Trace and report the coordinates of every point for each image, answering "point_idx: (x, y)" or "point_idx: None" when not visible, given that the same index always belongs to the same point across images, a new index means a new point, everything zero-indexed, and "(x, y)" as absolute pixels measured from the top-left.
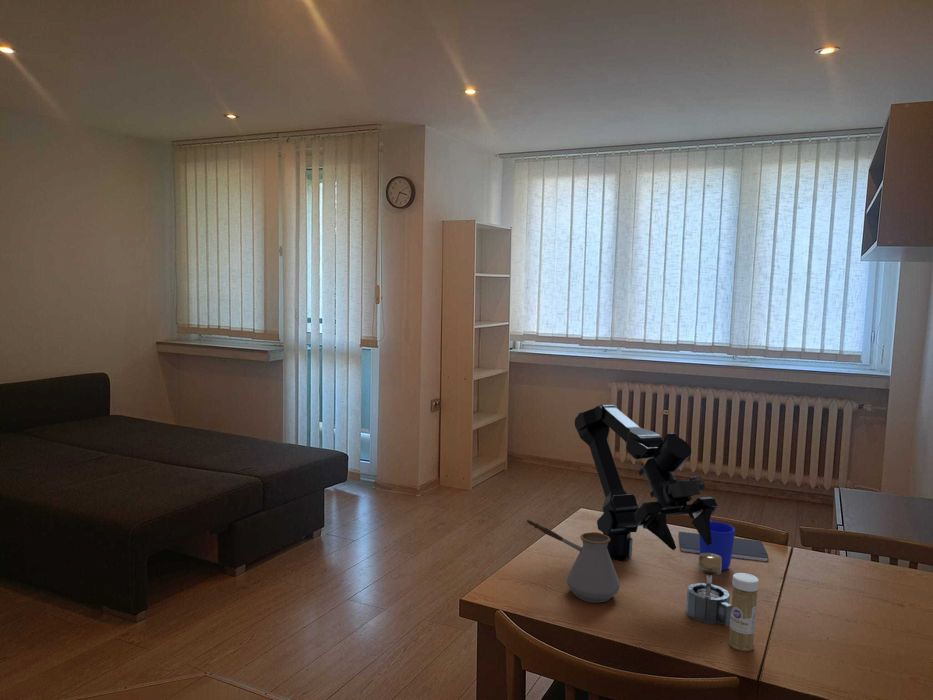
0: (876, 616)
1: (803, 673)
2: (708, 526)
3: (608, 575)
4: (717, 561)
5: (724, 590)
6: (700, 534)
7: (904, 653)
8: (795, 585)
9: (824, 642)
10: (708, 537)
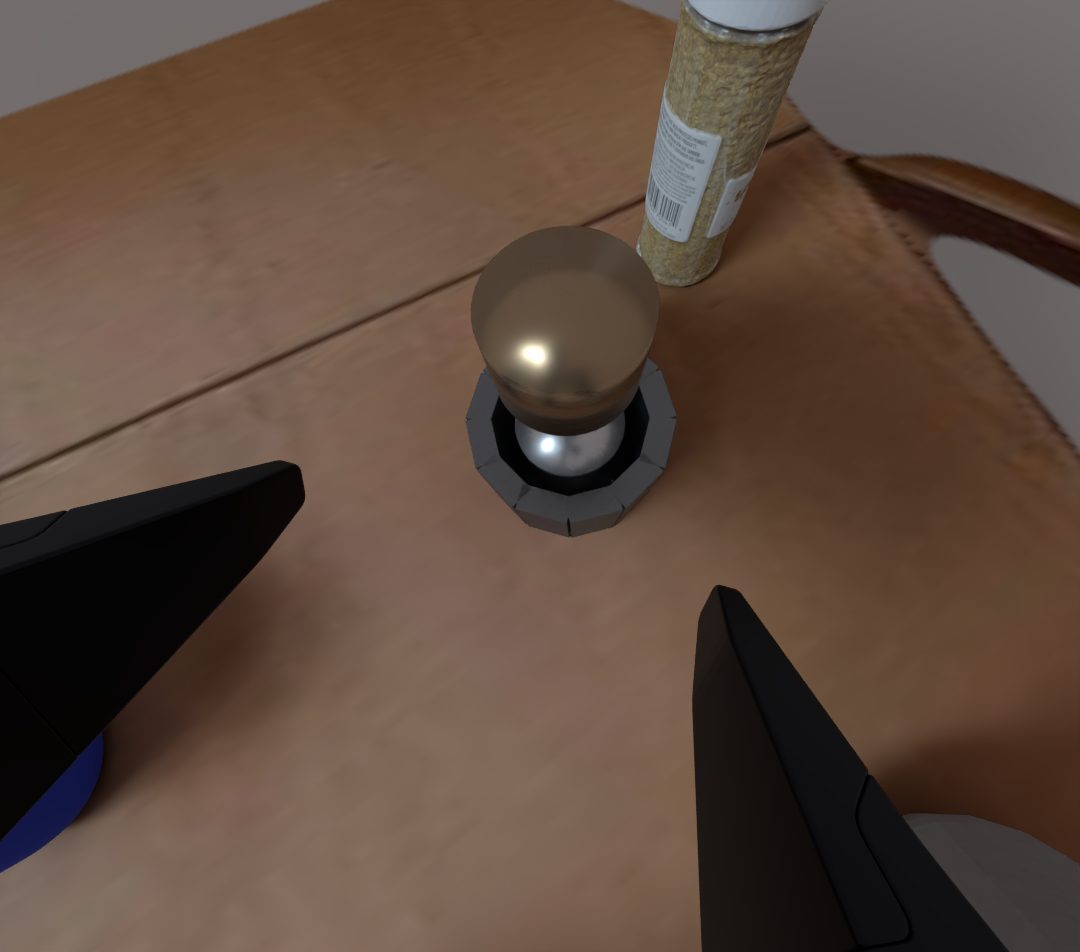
0: (114, 169)
1: (654, 93)
2: (54, 526)
3: (1074, 930)
4: (590, 234)
5: (488, 383)
6: (184, 631)
7: (308, 41)
8: (28, 423)
9: (419, 155)
10: (245, 485)
